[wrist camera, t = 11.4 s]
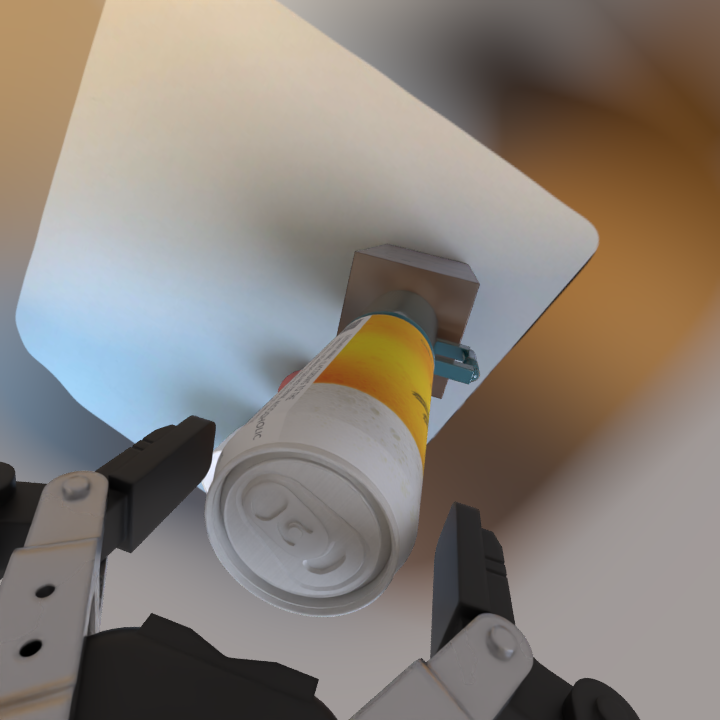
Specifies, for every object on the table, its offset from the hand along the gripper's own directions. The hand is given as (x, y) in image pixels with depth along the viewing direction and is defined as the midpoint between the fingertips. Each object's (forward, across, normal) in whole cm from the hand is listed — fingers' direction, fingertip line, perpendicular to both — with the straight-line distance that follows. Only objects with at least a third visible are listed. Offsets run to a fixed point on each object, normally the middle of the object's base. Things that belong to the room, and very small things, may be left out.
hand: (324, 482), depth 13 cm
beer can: (+13, 0, 0) cm, 13 cm away
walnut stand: (+39, 0, 0) cm, 39 cm away
